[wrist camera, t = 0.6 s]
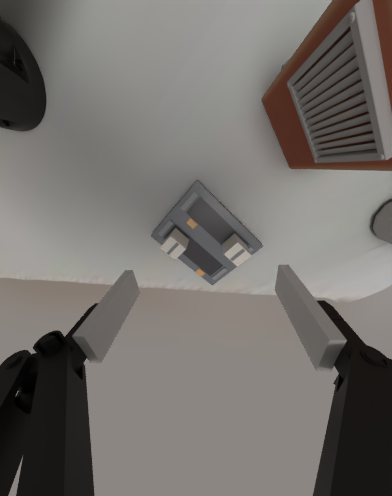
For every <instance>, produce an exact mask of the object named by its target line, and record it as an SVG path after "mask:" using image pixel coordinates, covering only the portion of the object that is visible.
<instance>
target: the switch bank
mask: <svg viewBox="0 0 392 496" xmlns="http://www.w3.org/2000/svg"><path fill="white" fill-rule="evenodd" d="M175 228H176V229H178V230H179V231H180V232H181V233H182V234H183V235H185V236H186V237H187V238H188V239H189V242H188V245H187V248H186V250H185V251H184V252H183V253H182V254H181V255H180V256H179V257H178V258H179V259H180V260H181V261H183V262H184V263H185V264H186V265H188V266H189V267H190V268H191V269H193V270H194V271H195V272H196V273H197V274H199V275H200V276H201V277H202V278H204V279H205V280H206V281H207V282H209V283H210V284H211V285H213V284H215V283H216V282H217V281H219V280H220V279H221V278H222V277H224V276H225V275H226V274H228V273H229V272H230V271H232V270H233V269H234V268H235V267H237V266H236V265H235V264H234V263H233V262H232V261H231V260H229V259H228V258H227V257H226V256H225V255H224V254H223V246H222V244H223V243H224V242H225V241H226V240H227V239H228V238H230V237H231V236H232V235H233V234H234V233H235V234H236V235H237V236H238V237H239V238H240V239H241V240H242V241H243V242H244V243H245V244H246V245H247V246H248V249H249V251H250V253H251V255H252V254H254V253H255V252H256V251H258V250H259V249H260V248H262V247H263V245H262V244H261V243H260V242H259V241H258V240H257V239H256V238H255V237H254V236H253V235H252V234H251V233H250V232H249V231H248V230H247V229H246V228H245V227H244V226H243V225H242V224H241V223H240V222H239V221H238V220H237V219H236V218H235V217H234V216H233V215H232V214H231V213H230V212H229V211H228V210H227V209H226V208H225V207H224V206H223V205H222V204H221V203H220V202H219V201H218V200H217V199H216V198H215V197H214V196H213V195H212V194H211V193H210V192H209V191H208V190H207V189H206V188H205V187H204V186H203V185H202V184H201V183H200V182H199V181H198V180H197V181H196V182H195V184H194V185H193V186H192V187H191V188H190V189H189V191H188V192H187V193H186V194H185V195H184V197H183V198H182V199H181V200H180V201H179V202H178V204H177V205H176V206H175V207H174V208H173V210H172V211H171V212H170V213H169V214H168V216H167V217H166V218H165V219H164V220H163V221H162V223H161V224H160V225H159V226H158V227H157V229H156V230H155V231H154V232H153V233H152V234H151V236H152V237H153V238H154V239H155V240H157V241H158V242H159V243H160V244H163V242H164V241H165V239H166V238H167V237H168V236H169V235H170V233H171V232H172V231H173V230H174V229H175Z"/></svg>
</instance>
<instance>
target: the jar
mask: <svg viewBox="0 0 392 496" xmlns="http://www.w3.org/2000/svg"><path fill="white" fill-rule="evenodd" d="M373 230H374V232H375V234H376V236H377V237H378V238H379V239H382V240H384V241H386V242H389V243H391V244H392V201H391V202H390V203H388V204H386V205H385V206H384V207H383V208H382V209H381V210H380V211H379V212H378V214H377V215H376V216H375V220H374V224H373Z"/></svg>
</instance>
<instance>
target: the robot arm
mask: <svg viewBox="0 0 392 496" xmlns="http://www.w3.org/2000/svg"><path fill="white" fill-rule="evenodd" d="M44 110H45V89H44V84H43V80H42V76H41V73H40V70H39V68H38V65H37V63H36V61H35V59H34V57H33V55H32V53H31V51H30V50H29V48H28V47H27V45H26V44H25V42H24V41H23V40H22V38H21V37H20V36H19V35H18V33H17V32H16V31H15V30H14V29H13V28H12V27H11V26H10V25H9V24H7V23H6V22H5V21H4V20H2V19H1V18H0V127H1V128H5V129H10V130H16V131H27V130H31V129H33V128H34V127H36V126H37V125H38V124H39V122H40V121H41V119H42V117H43V114H44ZM275 291H276V293H277V295H278V297H279V299H280V301H281V303H282V305H283V307H284V309H285V311H286V313H287V315H288V317H289V319H290V321H291V323H292V325H293V326H294V328H295V330H296V332H297V334H298V336H299V338H300V340H301V342H302V344H303V346H304V348H305V350H306V352H307V354H308V356H309V358H310V360H311V362H312V364H313V366H314V368H315V369H316V371H332V368H333V367H334V366H335V367H336V369H337V371H338V372H339V374H338V376H337V378H336V380H335V382H334V384H335V385H336V386H335V391H334V396H333V401H332V405H331V410H330V415H329V420H328V425H327V430H326V435H325V440H324V444H323V449H322V454H321V459H320V464H319V469H318V474H317V478H316V484H315V488H314V493H313V496H392V360H391V359H389V358H387V357H386V356H385V355H383V354H382V353H381V352H380V351H378V350H376V349H374V348H372V347H370V346H367V345H366V344H365V343H364V342H363V341H362V340H361V339H360V338H359V337H358V335H357V334H356V333H355V332H354V331H353V330H352V328H351V327H350V326H349V325H348V324H347V323H346V322H345V321H344V319H343V318H342V317H341V316H340V315H339V313H338V312H337V311H336V310H335V309H334V307H333V306H331V305H330V304H328V303H327V302H326V301H316V300H315V298H314V297H313V296H312V295H311V293H310V292H309V291H308V289H307V288H306V287H305V286H304V284H303V283H302V282H301V280H300V279H299V278H298V277H297V275H296V274H295V273H294V271H293V270H292V269H291V268H290V266H289V265H279V266H278V273H277V279H276V285H275ZM139 294H140V291H139V288H138V285H137V282H136V279H135V276H134V272H133V270H126V271H124V273H123V274H122V275H121V276H120V277H119V279H118V280H117V281H116V282H115V284H114V285H113V286H112V287H111V289H110V290H109V291H108V292H107V294H106V295H105V296H104V297H103V298H102V300H101V301H100V302H99V303H96V304H94V305H93V306H92V307H90V308H89V309H88V310H87V311H86V313H85V314H84V316H82V317H81V319H80V320H79V321H78V322H77V323H76V324H75V326H74V327H73V328H72V329H71V330H70V331H69V333H68V334H67V335H66V336H65V337H64V336H63V334H62V333H61V332H60V331H52V332H50V333H48V334H46V335H44V336H43V337H41V338H40V339H39V340H38V341H37V342H36V343H35V345H34V347H33V349H34V350H35V351H36V352H37V353H35V354H31V353H30V352H29V351H28V350H22V351H19V352H17V353H14V354H13V355H11V356H10V357H8V358H7V359H6V360H5V361H4V362H3V363H2V364H1V365H0V496H8V495H9V492H10V489H11V486H12V484H13V481H14V478H15V475H16V473H17V470H18V467H19V465H20V462H21V459H22V456H23V460H22V466H21V472H20V477H19V483H18V489H17V494H16V496H94V486H93V485H94V484H93V470H92V456H91V442H90V429H89V414H88V401H87V386H86V373H85V365H84V361H85V360H86V358H87V359H88V360H89V362H90V363H101V362H102V360H103V359H104V357H105V355H106V353H107V351H108V350H109V348H110V346H111V344H112V343H113V341H114V339H115V337H116V335H117V334H118V331H119V330H120V328H121V326H122V324H123V322H124V321H125V319H126V317H127V315H128V314H129V312H130V310H131V308H132V306H133V304H134V303H135V301H136V299H137V297H138V295H139ZM17 391H19V392H18V394H17V396H16V393H17ZM15 396H16V397H15Z"/></svg>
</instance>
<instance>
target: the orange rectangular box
mask: <svg viewBox="0 0 392 496" xmlns="http://www.w3.org/2000/svg"><path fill="white" fill-rule="evenodd" d="M281 70H282V71H281V73H280V74H279V75H278V77H277V78H276V79H275V81H274V82H273V84H272V85H271V86H270V88H269V89H268V91H267V92H266V93H265V95H264V96H263V98H262V102H263V104H264V106H265V109H266V111H267V114H268V116H269V118H270V121H271V123H272V126H273V128H274V130H275V133H276V135H277V138H278V140H279V142H280V145H281V147H282V150H283V152H284V154H285V157H286V159H287V162H288V164H289V167H290V168H291V169H330V170H378V171H392V0H332V2H331V3H330V5H329V6H328V7H327V9H326V10H325V12H324V13H323V14H322V16H321V17H320V18H319V20H318V21H317V23H316V24H315V25H314V27H313V28H312V30H311V31H310V32H309V34H308V35H307V37H306V38H305V39H304V41H303V42H302V43H301V45H300V46H299V48H298V49H297V50H296V52H295V53H294V55H293V56H292V57H291V58H290V59H289V60H288V61H287V62H286V63H285V64H283V65H282V69H281Z"/></svg>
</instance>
